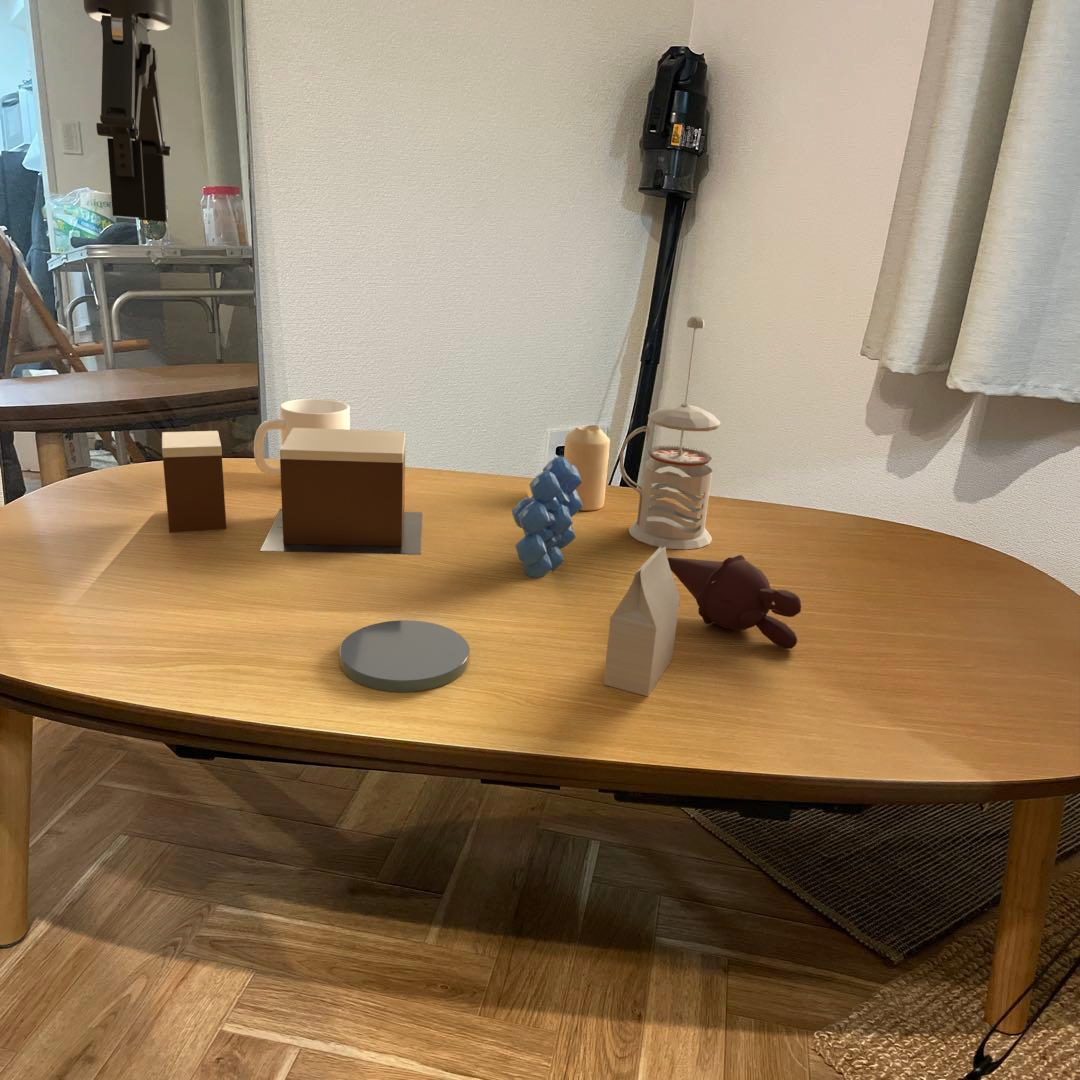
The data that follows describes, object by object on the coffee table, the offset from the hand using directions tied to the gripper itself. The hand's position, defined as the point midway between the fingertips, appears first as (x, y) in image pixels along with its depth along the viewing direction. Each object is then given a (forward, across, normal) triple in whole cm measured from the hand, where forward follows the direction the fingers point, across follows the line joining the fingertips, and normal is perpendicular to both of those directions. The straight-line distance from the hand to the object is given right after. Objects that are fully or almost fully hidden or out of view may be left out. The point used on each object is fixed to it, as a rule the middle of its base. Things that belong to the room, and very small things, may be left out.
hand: (142, 219), depth 88 cm
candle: (+30, +4, -49) cm, 58 cm away
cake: (+30, -6, -20) cm, 37 cm away
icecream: (+33, -31, -53) cm, 69 cm away
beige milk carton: (+33, -38, -42) cm, 66 cm away
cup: (+30, +13, -15) cm, 36 cm away
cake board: (+31, -6, -20) cm, 38 cm away
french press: (+31, -7, -56) cm, 64 cm away
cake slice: (+31, -2, -4) cm, 32 cm away
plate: (+33, -34, -23) cm, 52 cm away
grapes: (+32, -17, -38) cm, 53 cm away
